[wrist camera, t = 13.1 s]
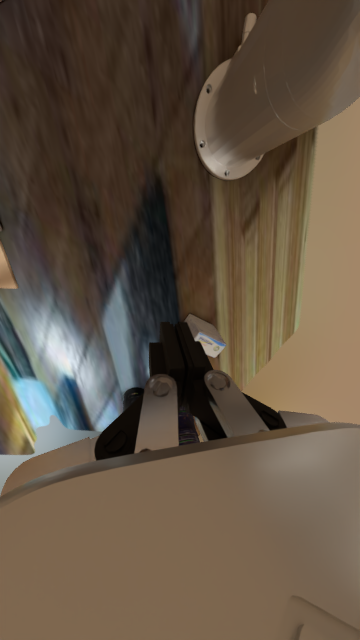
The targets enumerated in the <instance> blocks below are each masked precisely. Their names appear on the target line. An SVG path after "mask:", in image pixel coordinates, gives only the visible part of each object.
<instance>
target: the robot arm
mask: <svg viewBox="0 0 360 640" xmlns="http://www.w3.org/2000/svg"><path fill="white" fill-rule="evenodd" d="M256 20H257V21H256ZM206 91H208V92H209V94H208V93H207V92H206ZM359 97H360V0H269V1H268V2H267V4H266V6H265V7H264V9H263V11H262V12H261V14H260V16H259V18H258V19H257V17H256V15H255V14H254V13H250V14H248V15H247V16H246V17H245V21H244V27H243V33H242V42H241V45H240V46H239V47H238V49H237V51H236V52H235V54H234V56H233V58H231V59H228V60H226V61H225V62H223V63H221V64H220V65H219V66H218V67H217V68H216V69H215V70H214V71H213V72H212V73H211V74H210V76H209V77H208V79H207V80H206V82H205V84H204V86H203V88H202V90H201V92H200V95H199V98H198V100H197V104H196V108H195V113H194V123H193V130H194V141H195V147H196V150H197V153H198V156H199V158H200V160H201V162H202V164H203V165H204V167H205V168H206V169H207V171H208V172H209V173H211V174H212V175H213V176H215V177H217V178H218V179H222V180H235V179H238V178H241V177H243V176H245V175H246V174H248V173H249V172H251V171H252V170H253V169H254V168H255V167H256V166H257V164H258V163H259V162H260V160H261V159H262V157H263V155H264V154H265V153H266V152H268V151H270V150H272V149H274V148H276V147H278V146H280V145H281V144H283V143H285V142H287V141H289V140H291V139H293V138H295V137H297V136H299V135H301V134H303V133H305V132H307V131H309V130H311V129H313V128H315V127H316V126H318V125H320V124H322V123H324V122H326V121H328V120H330V119H331V118H333V117H334V116H336V115H338V114H339V113H341V112H342V111H343V110H345V109H346V108H347V107H348V106H350V105H351V104H352V103H353V102H355V101H356V100H357V99H358V98H359ZM200 144H201V145H202V148H201V147H200ZM255 158H256V159H255ZM224 173H226V176H225V174H224ZM149 371H150V378H149V379H148V381H147V382H146V385H145V390H144V393H143V394H142V395H141V396H140V397H139V398H138V399H137V400H135V401H134V402H133V403H132V404H131V405H130V406H129V407H128V408H127V409H126V410H125V411H124V412H123V413H122V414H121V415H120V416H119V417H118V418H116V419H115V420H114V421H113V422H112V423H111V424H110V425H109V426H108V427H107V428H106V429H105V430H104V431H103V432H102V433H101V434H100V436H98V437H95V438H92V439H90V438H89V437H88V438H85V439H82V440H80V441H77V442H74V443H72V444H69V445H66V446H63V447H60V448H58V449H55V450H52V451H50V452H47V453H44V454H41V455H38V456H36V457H33V458H31V459H29V460H27V461H25V462H23V463H22V464H21V465H20V466H18V468H16V469H15V470H14V471H13V472H12V474H11V475H10V476H9V477H8V479H7V480H6V483H5V485H4V487H3V489H2V492H1V496H0V640H360V425H357V424H351V423H340V422H339V423H338V422H336V423H335V422H331V423H330V422H328V421H327V420H326V419H324V418H322V417H321V416H318V415H313V414H305V413H296V412H288V411H278V413H277V412H276V411H275V410H273V409H271V408H270V407H268V406H266V405H264V404H262V403H261V402H259V401H257V400H255V399H253V398H252V397H250V396H248V395H246V394H244V393H242V392H241V391H240V389H239V388H238V387H237V385H236V384H235V383H234V381H233V380H232V379H231V377H230V376H229V375H228V374H226V373H225V372H222V371H219V370H213V368H212V366H211V363H210V361H209V359H208V357H207V355H206V353H205V351H204V349H203V346H202V344H201V342H200V341H195V340H194V337H193V335H192V333H191V330H190V328H189V326H188V323H187V322H178V324H175V326H174V327H173V324H170V322H161V324H160V342H158V343H149ZM180 403H181V406H182V407H185V411H186V412H190V414H192V415H193V416H195V421H196V424H197V426H198V429H199V431H200V434H201V436H202V438H203V441H204V442H199V443H193V444H188V445H182V446H179V441H178V415H179V409H180Z"/></svg>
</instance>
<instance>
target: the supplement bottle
mask: <svg viewBox="0 0 360 640" xmlns="http://www.w3.org/2000/svg"><path fill="white" fill-rule="evenodd" d="M143 393H144V390H143V389H141V388H133V389H130V390H128V391H127V392H126V393H125V395H124V403H123V412H124V411H125V410H126V409H127V408H128V407H129V406H130V405H131V404H132V403H133V402H134V401H135V400H137V399H138V398H139V397H140V396H141V395H142V394H143Z"/></svg>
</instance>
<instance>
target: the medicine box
mask: <svg viewBox="0 0 360 640" xmlns="http://www.w3.org/2000/svg"><path fill="white" fill-rule="evenodd" d="M184 322H187V323H188V326H189V328H190V330H191V333H192V335H193V337H194V340H195V341H200V342H201V344H202V346H203V349H204V351H205V353H206V354H207V355H209V356H211V357H214V358H215V357H216V356H217V355H218V354H219V353H220V352H221V351H222V350H223V348H224V347H225V346H226V344H225V342H224V340H223V339H222V337H221V336H220V335H219V333H218V332H217V330H216V329H215V327H214V326H213V325H212V324H210V323H208V322H206V321H204V320H202V319H200V318H198V317H196V316H194V315H192V314H189V315H188V317H187V318H186V319H185V321H184Z"/></svg>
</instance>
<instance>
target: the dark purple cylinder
mask: <svg viewBox="0 0 360 640" xmlns="http://www.w3.org/2000/svg"><path fill="white" fill-rule="evenodd" d="M178 441H179V446H182V445H188V444H193V443H199V442H200V441H199V438H198V434H197V432H196V429H195V425H194V419H193V415H192V414H190V412H186V411H185V407H182V406H181V403H180V409H179V415H178Z"/></svg>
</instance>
